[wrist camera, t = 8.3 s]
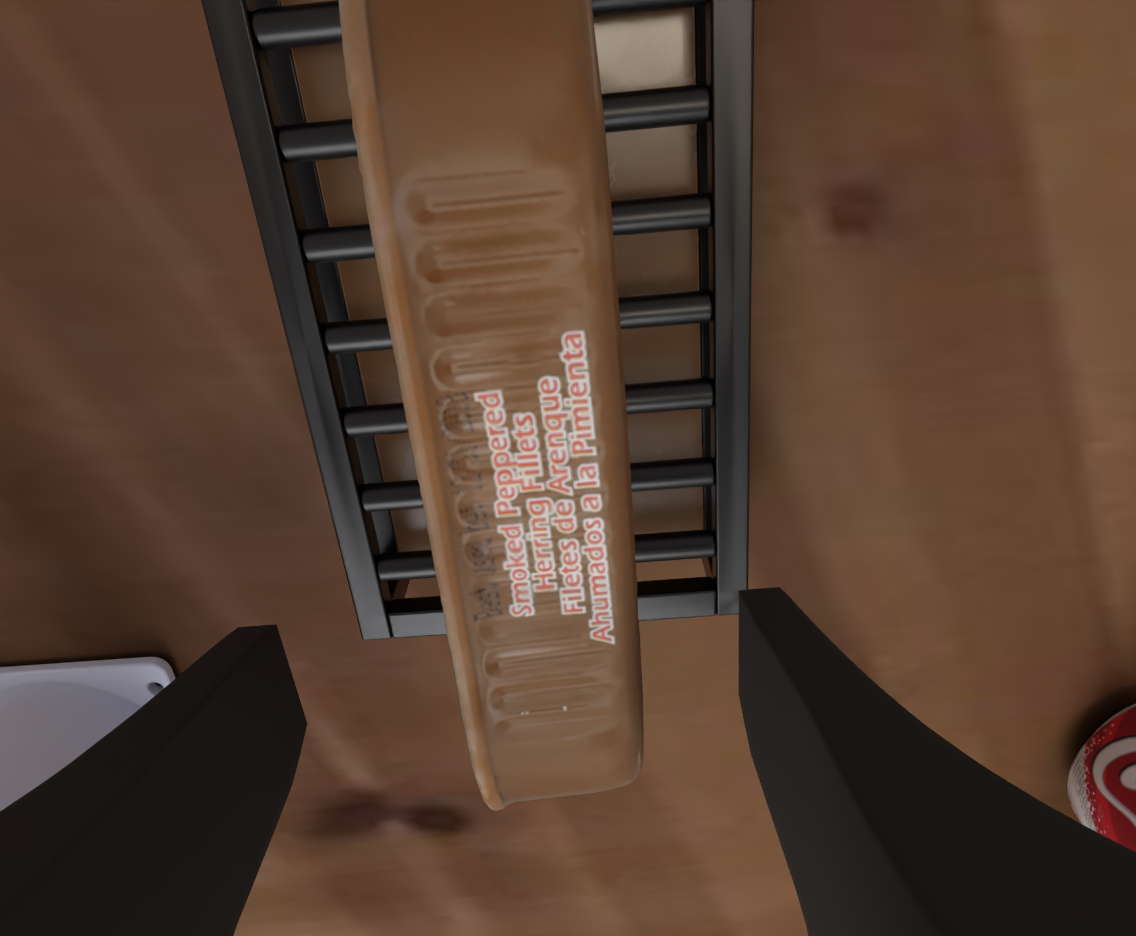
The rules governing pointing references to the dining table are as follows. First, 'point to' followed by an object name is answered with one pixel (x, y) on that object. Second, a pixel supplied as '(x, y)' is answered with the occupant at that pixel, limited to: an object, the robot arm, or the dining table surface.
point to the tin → (509, 369)
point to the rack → (643, 268)
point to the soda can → (1108, 780)
